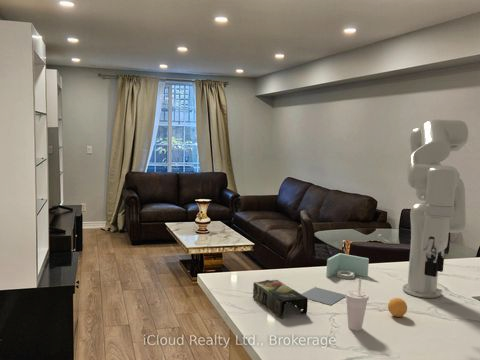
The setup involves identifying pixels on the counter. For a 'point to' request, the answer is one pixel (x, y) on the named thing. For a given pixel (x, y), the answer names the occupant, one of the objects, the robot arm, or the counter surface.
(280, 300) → the juice carton
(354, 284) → the counter surface
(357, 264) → the right angle wall
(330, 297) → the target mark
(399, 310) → the ball
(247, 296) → the counter surface
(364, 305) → the smoothie
